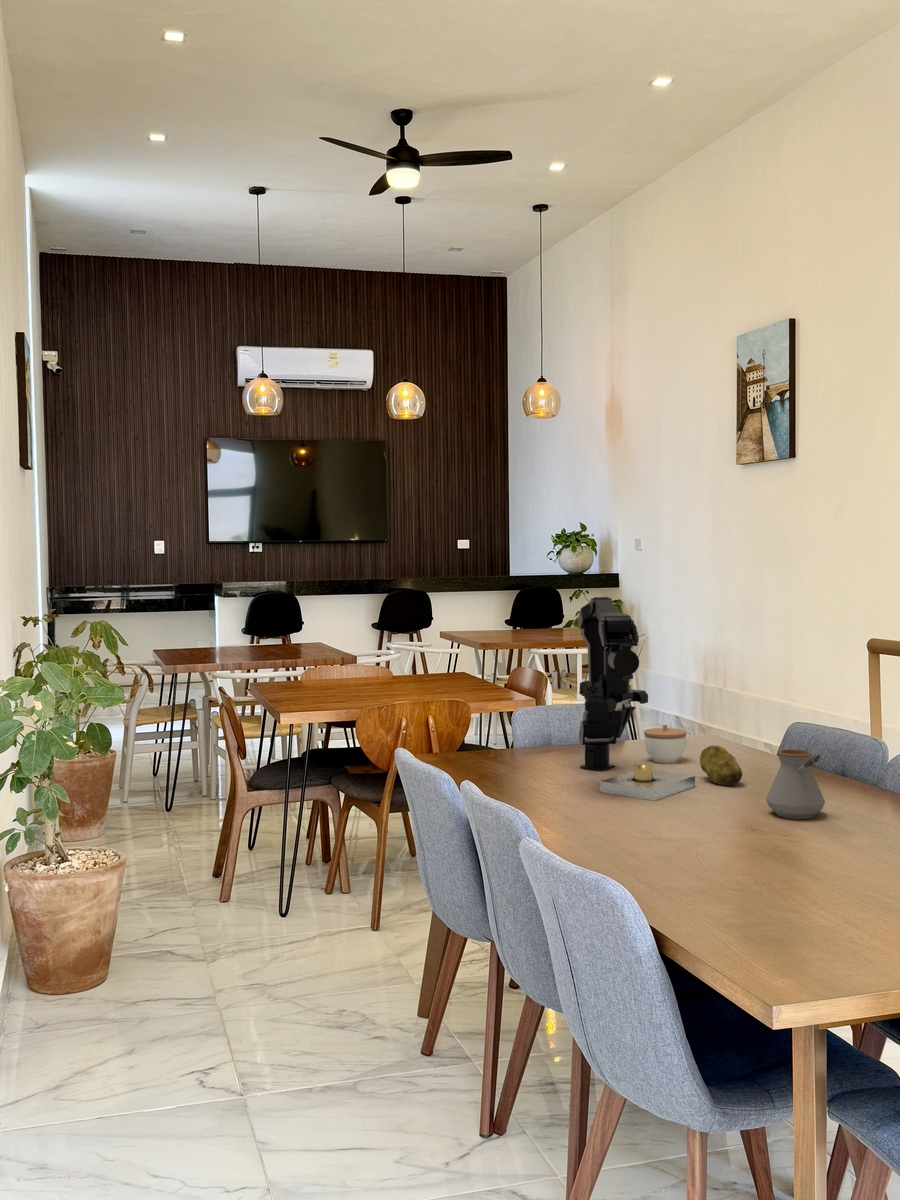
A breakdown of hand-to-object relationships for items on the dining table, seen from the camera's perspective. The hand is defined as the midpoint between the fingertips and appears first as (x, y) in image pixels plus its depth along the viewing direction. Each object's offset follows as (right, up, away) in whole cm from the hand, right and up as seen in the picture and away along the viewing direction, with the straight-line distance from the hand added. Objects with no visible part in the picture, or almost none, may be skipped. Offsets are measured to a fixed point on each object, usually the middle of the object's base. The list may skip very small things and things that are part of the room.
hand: (617, 737), depth 248 cm
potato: (+25, -11, +6) cm, 28 cm away
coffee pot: (+32, -13, -31) cm, 47 cm away
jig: (+7, -12, -1) cm, 13 cm away
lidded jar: (+17, -10, +32) cm, 38 cm away
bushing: (+6, -12, -2) cm, 13 cm away
